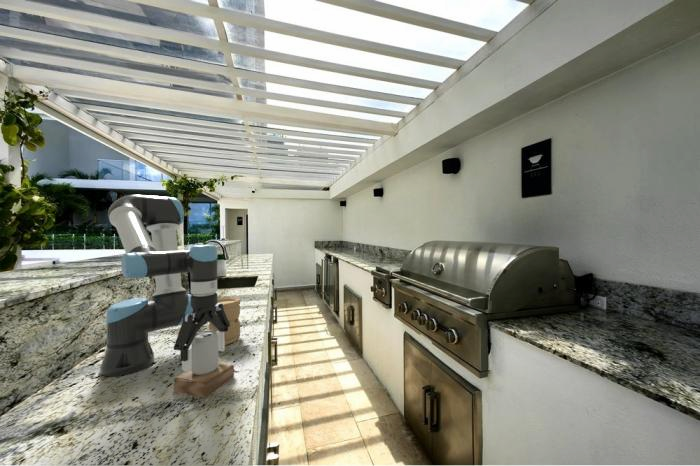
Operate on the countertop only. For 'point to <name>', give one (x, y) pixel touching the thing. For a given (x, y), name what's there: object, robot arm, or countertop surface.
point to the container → (230, 318)
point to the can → (204, 352)
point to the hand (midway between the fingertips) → (205, 359)
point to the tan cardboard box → (203, 381)
